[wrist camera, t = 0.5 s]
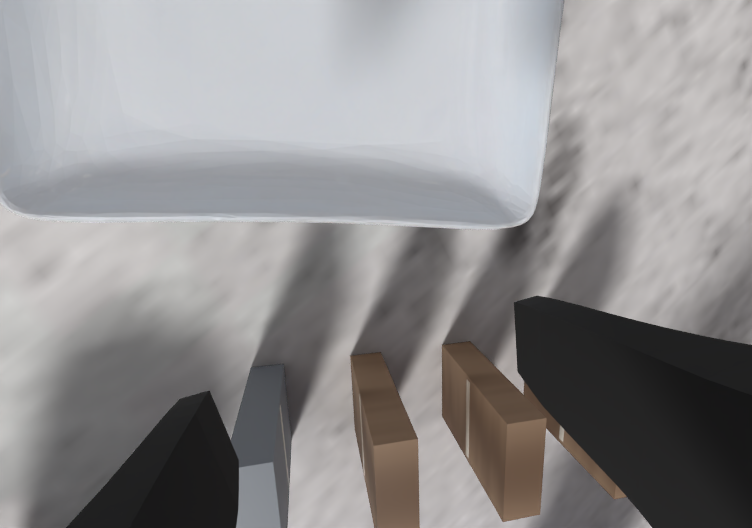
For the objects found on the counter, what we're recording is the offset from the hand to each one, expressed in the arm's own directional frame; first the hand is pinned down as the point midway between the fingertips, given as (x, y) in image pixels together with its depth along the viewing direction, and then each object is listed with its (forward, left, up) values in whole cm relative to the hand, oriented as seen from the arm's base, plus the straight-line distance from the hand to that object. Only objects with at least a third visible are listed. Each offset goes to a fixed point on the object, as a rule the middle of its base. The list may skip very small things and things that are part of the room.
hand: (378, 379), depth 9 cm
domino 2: (-7, -1, -11) cm, 13 cm away
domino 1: (-7, +4, -11) cm, 13 cm away
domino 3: (-7, -6, -11) cm, 14 cm away
